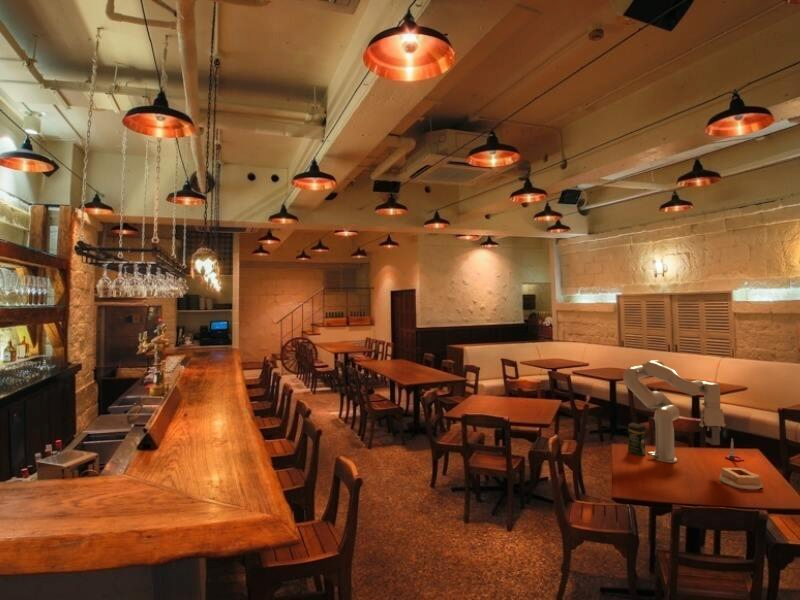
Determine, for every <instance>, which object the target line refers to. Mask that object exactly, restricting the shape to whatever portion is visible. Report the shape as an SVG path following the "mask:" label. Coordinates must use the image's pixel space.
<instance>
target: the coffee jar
mask: <svg viewBox="0 0 800 600" xmlns="http://www.w3.org/2000/svg"><path fill="white" fill-rule="evenodd" d="M627 432H628V446H627V452H628V451H629V452H628V453H630V452H631V453H630V454H632V453H633V455H635V454H636V456H644V454H645V455H646V453H647V451H646V440H645V439H646V436H645V435H646V432H647V431H646V426H645V425H643V424H640V423H639V424H638V423H636V422H635V423H634V422H629V423H628V427H627Z"/></svg>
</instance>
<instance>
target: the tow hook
mask: <svg viewBox="0 0 800 600" xmlns="http://www.w3.org/2000/svg"><path fill="white" fill-rule="evenodd" d="M724 458H725V459H726V460H729V461H733V462H736V463H737V462H744V461H745V459H744V458H743V457H742V456H739V455H735V454H734V438H731V442H730V454H727V455H726V456H725V457H724ZM739 458H740V459H739Z"/></svg>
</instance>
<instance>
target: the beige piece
mask: <svg viewBox="0 0 800 600" xmlns="http://www.w3.org/2000/svg"><path fill="white" fill-rule="evenodd" d="M720 471H721V472H720V474H719V481H720V482H721V483H722V484H725V485H726V486H729V487H731V488H733V489H734V488H736V489H738V488H739V489H740V490H744V489H747V490H746V491H756V490H755V489H760V488H762V489H763V483H762V481H761V475H758V474H756V473H755V472H751V471H749V470H747V469H745V468H744V467H721V469H720ZM748 489H749V490H748ZM760 490H761V489H760Z"/></svg>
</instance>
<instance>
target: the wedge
mask: <svg viewBox="0 0 800 600" xmlns="http://www.w3.org/2000/svg"><path fill="white" fill-rule="evenodd" d="M709 431H710V433H711V438H707V437H706V436H705V442H706V443H707V444H710V445H712V446H721V438H720V437H721V436H720V435H721V433H720V432H721V431H720V427H719V426H710V430H709Z"/></svg>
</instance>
